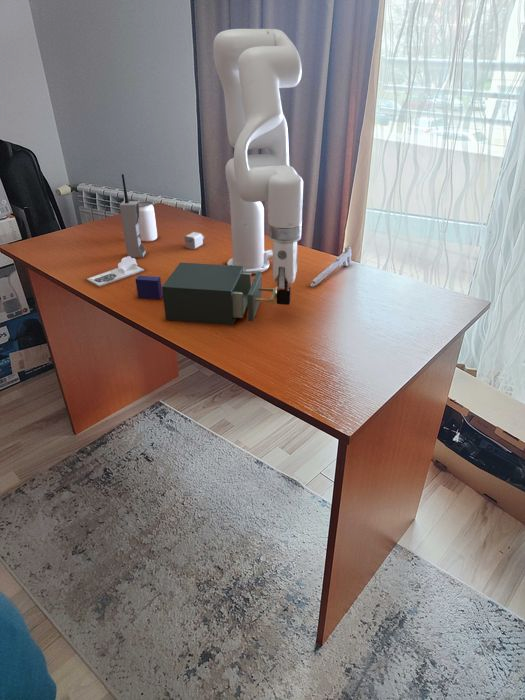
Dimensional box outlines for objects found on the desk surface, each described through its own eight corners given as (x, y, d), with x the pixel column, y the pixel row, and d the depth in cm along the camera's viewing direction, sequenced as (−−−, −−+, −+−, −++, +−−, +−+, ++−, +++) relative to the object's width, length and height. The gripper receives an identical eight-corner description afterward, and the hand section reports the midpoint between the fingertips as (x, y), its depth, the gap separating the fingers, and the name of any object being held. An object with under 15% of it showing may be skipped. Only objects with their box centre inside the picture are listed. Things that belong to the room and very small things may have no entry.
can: (137, 236, 172) (132, 201, 166) (156, 234, 174) (152, 200, 167) (139, 243, 167) (134, 207, 161) (158, 240, 169) (154, 205, 162)
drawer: (280, 297, 130) (280, 272, 126) (273, 323, 119) (273, 296, 115) (204, 292, 133) (202, 267, 129) (189, 317, 122) (187, 290, 118)
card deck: (162, 295, 134) (160, 276, 131) (159, 299, 132) (157, 280, 129) (141, 293, 135) (138, 275, 132) (138, 297, 133) (135, 279, 130)
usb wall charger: (185, 247, 163) (184, 235, 161) (197, 240, 168) (197, 229, 166) (195, 249, 162) (194, 237, 160) (207, 242, 167) (206, 231, 165)
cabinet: (244, 297, 132) (243, 266, 128) (232, 325, 120) (231, 291, 115) (183, 293, 135) (180, 262, 130) (165, 319, 122) (161, 286, 118)
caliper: (347, 264, 151) (349, 244, 148) (350, 264, 151) (352, 245, 147) (309, 286, 138) (310, 265, 134) (312, 287, 137) (313, 266, 134)
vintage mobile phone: (143, 257, 156) (131, 175, 143) (127, 257, 156) (114, 175, 143) (146, 253, 159) (134, 172, 146) (130, 253, 159) (117, 172, 146)
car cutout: (131, 264, 152) (129, 250, 149) (144, 270, 148) (142, 256, 145) (87, 280, 142) (83, 265, 140) (99, 286, 139) (96, 271, 136)
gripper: (298, 243, 107) (295, 318, 117) (304, 221, 119) (301, 290, 129) (263, 241, 108) (263, 316, 117) (272, 219, 120) (272, 289, 130)
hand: (283, 302), depth 123 cm, fingers closed
